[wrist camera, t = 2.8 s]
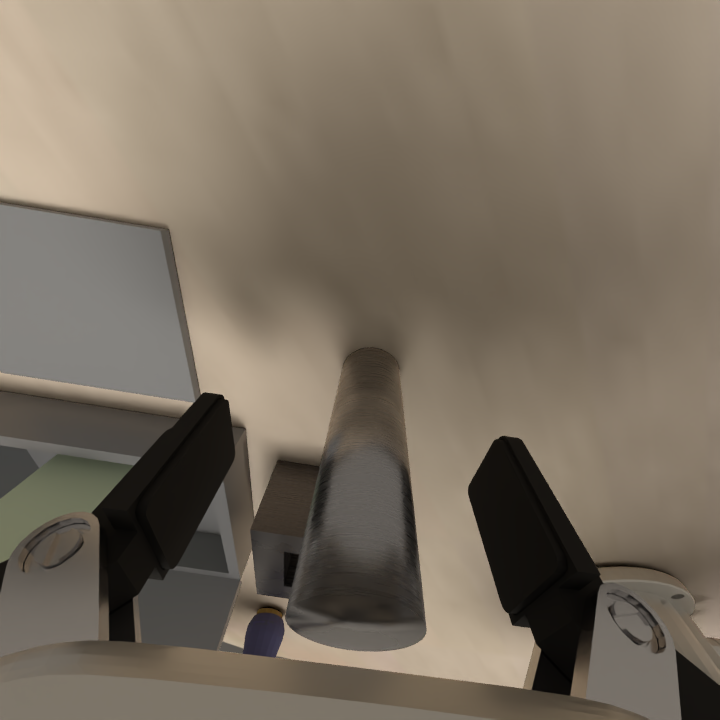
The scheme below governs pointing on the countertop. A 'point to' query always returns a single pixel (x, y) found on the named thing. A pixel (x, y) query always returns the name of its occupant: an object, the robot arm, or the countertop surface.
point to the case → (126, 446)
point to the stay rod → (362, 521)
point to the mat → (92, 304)
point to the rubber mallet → (264, 633)
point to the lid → (187, 609)
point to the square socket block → (281, 527)
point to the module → (55, 495)
